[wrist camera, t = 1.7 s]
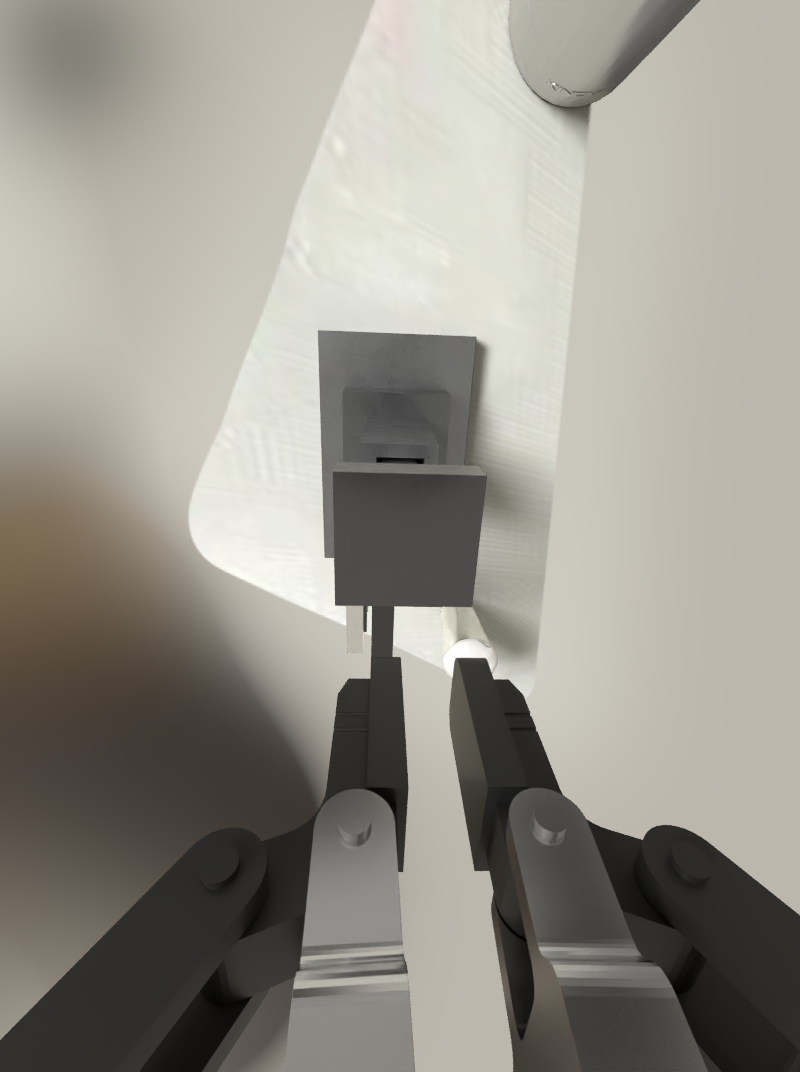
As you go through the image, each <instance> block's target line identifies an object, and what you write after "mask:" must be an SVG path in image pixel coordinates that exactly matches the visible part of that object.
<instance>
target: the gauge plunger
mask: <svg viewBox="0 0 800 1072" xmlns="http://www.w3.org/2000/svg"><path fill="white" fill-rule="evenodd" d="M486 479H487V475H486V474H485V473H484V471H483V470H482V468H481V467H480V466H470V465H434V464H417V463H416V459H415V458H389V457H383V463H361V462H336V463H335V466H334V469H333V518H334V567H335V606H372V651H371V653H372V654H371V657H392V650H393V625H394V606H413V607H472V601H473V592H474V584H475V575H476V566H477V557H478V549H479V540H480V531H481V523H482V514H483V505H484V496H485V488H486Z"/></svg>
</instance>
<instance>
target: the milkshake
mask: <svg viewBox="0 0 800 1072" xmlns="http://www.w3.org/2000/svg"><path fill="white" fill-rule="evenodd" d="M440 613H441V625H442V637H443V656H444V669H445V671H446V672H447V674H448V675H449V676H450V677H451V678H452V679H453V669H454V662H455V658H486V659H487V661H488V664H489V667H490V670H491V673H493V671H494V670H495V668H496V666H497V655H496V652H495V650H494V648H493V646H492V644H491V642H490V641H489V639H488V637H487V635H486V633H485V631H484V630H483V628H482V625H481V623H480V621H479V619H478V617H477V615H476V613H475V611H474V609H473V607H442V609H441V611H440Z"/></svg>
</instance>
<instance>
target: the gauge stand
mask: <svg viewBox="0 0 800 1072" xmlns="http://www.w3.org/2000/svg"><path fill="white" fill-rule="evenodd" d="M475 344H476V337H467V336H442V335H418V334H393V333H369V332H344V331H320V330H318V345H319V380H320V414H321V448H322V482H323V516H324V550H325V558H334V518H333V469H334V466H335V463H336V462H361V463H383V457H389V458H415V459H416V463H417V464H434V465H464V461H465V451H466V440H467V429H468V419H469V408H470V397H471V387H472V376H473V366H474V355H475ZM367 611H368V606H346V620H347V653H363V641H364V632H367Z"/></svg>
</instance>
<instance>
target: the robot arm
mask: <svg viewBox="0 0 800 1072" xmlns="http://www.w3.org/2000/svg"><path fill="white" fill-rule="evenodd" d="M699 1H700V0H511V2H510V12H509V31H510V41H511V46H512V51H513V55H514V59H515V61H516V63H517V66H518V68H519V71H520V73H521V75H522V76H523V78H524V79H525V81H526V82H527V84H528V85H529V87H530V88H531V89H532V90H533V91H535V92H536V93H537V94H538V95H539V96H540V97H541V98H543V99H545V100H547V101H549V102H550V103H552V104H554V105H559V106H564V107H579V106H585V105H588V104H591V103H593V102H596V101H598V100H600V99H601V98H603V97H605V96H606V95H608V94H609V93H611V92H612V91H613V90H614V89H615V88H616V87H617V86H618V85H619V84H620V83H621V82H622V81H623V80H624V79H625V78H626V77H627V76H628V75H629V74H630V73H631V72H632V71H633V70H634V69H635V68H636V67H637V66H638V65H639V64H640V62H641V61H642V60H643V59H644V58H645V57H646V56H647V55H648V54H649V53H650V52H651V51H652V50H653V49H654V48H655V47H656V46H657V45H658V44H659V43H660V42H661V41H662V40H663V39H664V38H665V37H666V36H667V34H669V32H670V31H671V30H672V29H673V28H674V27H675V26H676V25H677V24H678V23H679V22H680V21H681V20H682V19H683V18H684V17H685V15H687V14H688V13H689V11H691V9H692V8H693V7H694V6H695V5H696V4H697V3H698V2H699ZM449 715H450V731H451V737H452V743H453V749H454V754H455V760H456V766H457V772H458V778H459V783H460V789H461V795H462V800H463V807H464V812H465V817H466V824H467V829H468V835H469V841H470V847H471V853H472V858H473V864H474V870H475V871H490V875H491V880H492V885H493V890H494V893H493V898H492V904H491V914H492V921H493V928H494V934H495V940H496V947H497V953H498V959H499V965H500V972H501V978H502V984H503V991H504V997H505V1004H506V1010H507V1016H508V1023H509V1028H510V1035H511V1043H512V1052H513V1072H800V915H799V914H797V913H796V912H795V911H794V910H792V909H791V908H790V907H788V906H787V905H786V904H785V903H784V902H782V901H781V900H780V899H778V898H777V897H776V896H775V895H774V894H772V893H771V892H770V891H768V890H767V889H766V888H765V887H764V886H762V885H761V884H760V883H759V882H757V881H756V880H755V879H753V878H752V877H751V876H750V875H749V874H747V873H746V872H745V871H744V870H742V869H741V868H740V867H739V866H737V865H736V864H735V863H734V862H732V861H731V860H730V859H729V858H727V857H726V856H725V855H724V854H722V853H721V852H720V851H718V850H717V849H716V848H715V847H714V846H712V845H711V844H710V843H708V842H707V841H706V840H704V839H703V838H702V837H700V836H698V835H696V834H695V833H693V832H691V831H688V830H686V829H683V828H680V827H677V826H672V825H661V826H656V827H654V828H652V829H650V830H649V831H648V832H647V833H646V835H645V836H644V839H643V840H641V839H638V838H634V837H631V836H628V835H624V834H621V833H618V832H614V831H611V830H608V829H605V828H602V827H600V826H598V825H595V824H593V823H592V822H590V821H588V820H587V819H586V818H585V816H584V815H583V813H582V812H581V811H580V809H579V808H578V807H577V806H576V805H575V804H574V803H573V802H572V801H571V800H569V799H568V798H566V797H565V796H563V794H562V792H561V790H560V788H559V785H558V783H557V780H556V778H555V775H554V773H553V770H552V768H551V765H550V762H549V760H548V757H547V755H546V752H545V750H544V747H543V745H542V742H541V740H540V737H539V735H538V732H536V727H535V725H534V722H533V719H532V717H531V716H530V711H529V709H528V706H527V704H526V701H525V699H524V696H523V694H522V693H521V692H520V691H519V690H518V689H517V688H516V687H515V686H514V685H513V684H512V683H511V682H510V681H509V680H494V679H493V676H492V673H491V670H490V667H489V664H488V661H487V659H486V658H455V662H454V669H453V679H452V690H451V699H450V714H449ZM407 800H408V773H407V756H406V739H405V722H404V706H403V688H402V672H401V658H400V657H371V678H370V679H348V680H347V682H346V683H345V685H344V686H343V688H342V689H341V691H340V692H339V693H338V698H337V707H336V716H335V723H334V732H333V740H332V748H331V756H330V765H329V773H328V781H327V789H326V794H325V798H324V800H323V803H322V805H321V806H320V808H319V810H318V811H317V812H316V813H315V815H314V816H313V817H312V818H311V819H310V820H309V821H307V822H306V823H305V824H304V825H302V826H300V827H299V828H297V829H295V830H293V831H290V832H288V833H285V834H282V835H279V836H276V837H273V838H270V839H268V840H265V841H261V840H260V838H259V837H258V836H257V835H255V834H254V833H253V832H251V831H249V830H246V829H243V828H225V829H220V830H217V831H215V832H212V833H210V834H208V835H207V836H205V837H203V838H202V839H200V840H199V841H198V842H196V844H194V845H193V846H192V847H191V848H190V849H189V850H188V851H187V852H186V853H185V854H184V855H183V856H182V857H181V858H180V859H179V860H178V861H177V862H176V863H175V864H174V865H173V866H172V867H171V868H170V869H169V870H168V871H167V872H166V873H165V874H164V875H163V876H162V877H161V878H160V879H159V880H158V881H157V882H156V883H155V884H154V885H153V886H152V887H151V888H150V889H149V890H148V892H146V893H145V895H143V896H142V897H141V899H139V900H138V901H137V902H136V904H135V905H133V906H132V908H131V909H130V910H129V911H128V912H127V913H126V914H125V915H124V916H123V917H122V918H121V919H120V920H119V921H118V922H117V923H116V924H115V925H114V926H113V927H112V928H111V929H110V930H109V931H108V932H107V933H106V934H105V935H104V936H103V937H102V938H101V939H100V940H99V941H98V942H97V943H96V944H95V945H94V946H93V947H92V948H91V949H90V950H89V951H88V952H87V953H86V954H85V955H84V956H83V957H82V958H81V959H80V960H79V961H78V962H77V963H76V964H75V965H74V966H73V967H72V968H71V969H70V970H69V971H68V972H67V973H66V974H65V975H64V976H63V977H62V978H61V979H60V980H59V981H58V982H57V983H56V985H54V986H53V987H52V988H51V989H50V990H49V992H47V993H46V994H45V995H44V996H43V998H41V999H40V1000H39V1002H38V1003H37V1004H36V1005H35V1006H34V1007H33V1008H32V1009H31V1010H30V1011H29V1012H28V1013H27V1014H26V1015H25V1016H24V1017H23V1018H22V1019H21V1020H20V1021H19V1022H18V1023H17V1024H16V1025H15V1026H14V1027H13V1028H12V1029H11V1030H10V1031H9V1032H8V1033H7V1034H6V1035H5V1036H4V1037H3V1038H2V1039H1V1040H0V1072H217V1071H218V1069H219V1067H220V1066H221V1064H222V1063H223V1061H224V1060H225V1058H226V1056H227V1055H228V1053H229V1052H230V1050H231V1049H232V1047H233V1046H234V1044H235V1043H236V1041H237V1040H238V1038H239V1037H240V1035H241V1033H242V1032H243V1030H244V1029H245V1027H246V1025H247V1024H248V1023H249V1021H250V1020H251V1018H252V1017H253V1015H254V1013H255V1012H256V1010H257V1009H258V1007H259V1006H260V1004H261V1003H262V1001H263V1000H264V998H265V996H266V995H267V993H268V991H269V990H270V988H271V987H273V986H275V985H277V984H279V983H282V982H284V981H286V980H288V979H291V978H293V977H295V981H294V987H293V995H292V1003H291V1012H290V1021H289V1031H288V1040H287V1049H286V1059H285V1067H284V1072H415V1062H414V1049H413V1034H412V1019H411V1007H410V1006H411V1005H410V992H409V980H408V971H407V965H406V961H405V959H404V952H403V940H402V924H401V908H400V894H399V877H398V872H403V863H404V847H405V832H406V816H407Z"/></svg>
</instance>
